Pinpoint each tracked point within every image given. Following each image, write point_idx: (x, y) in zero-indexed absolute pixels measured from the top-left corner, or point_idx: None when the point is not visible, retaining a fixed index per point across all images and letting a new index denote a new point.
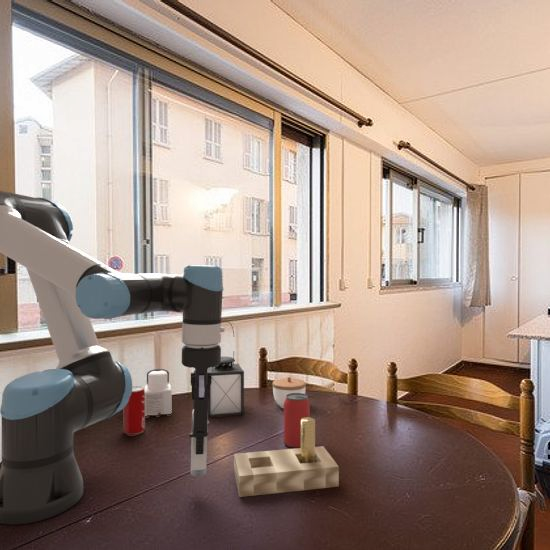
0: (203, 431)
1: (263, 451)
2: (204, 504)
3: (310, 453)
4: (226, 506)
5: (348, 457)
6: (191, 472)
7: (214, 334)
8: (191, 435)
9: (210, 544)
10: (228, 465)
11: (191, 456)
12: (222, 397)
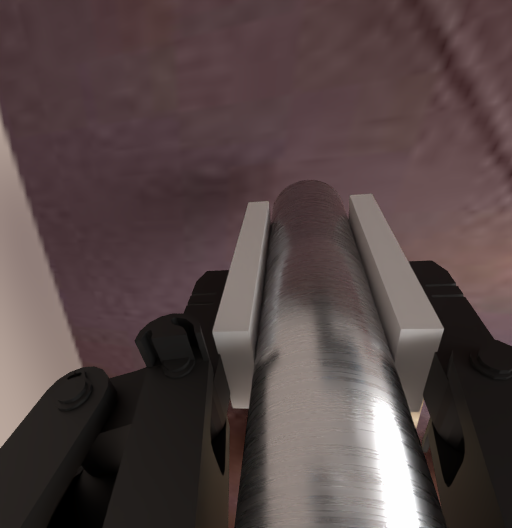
0: (81, 468)
1: (418, 412)
2: (222, 207)
3: None
4: (210, 267)
5: None
6: (290, 187)
7: None
8: (143, 348)
9: (40, 230)
10: (478, 278)
11: (297, 219)
12: None
